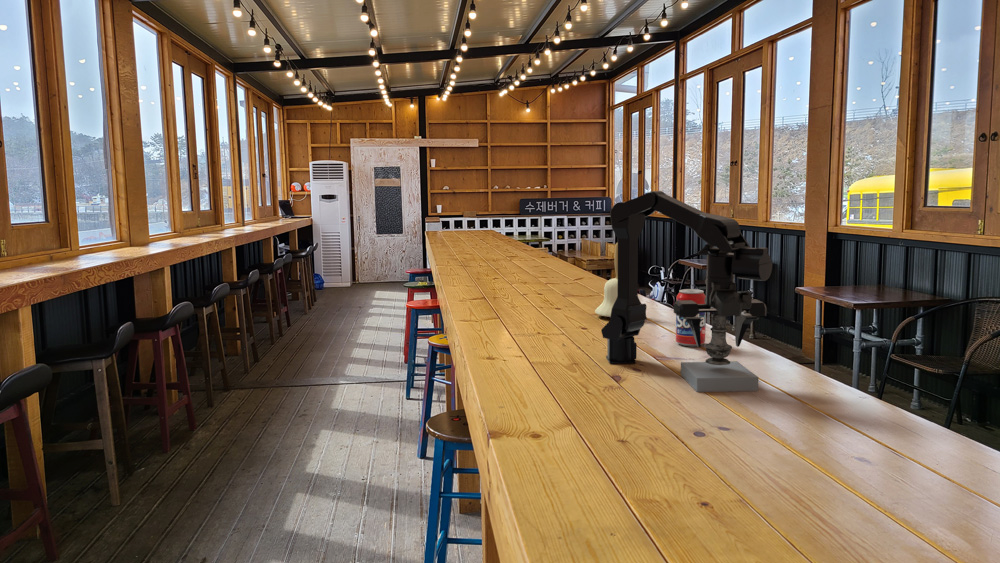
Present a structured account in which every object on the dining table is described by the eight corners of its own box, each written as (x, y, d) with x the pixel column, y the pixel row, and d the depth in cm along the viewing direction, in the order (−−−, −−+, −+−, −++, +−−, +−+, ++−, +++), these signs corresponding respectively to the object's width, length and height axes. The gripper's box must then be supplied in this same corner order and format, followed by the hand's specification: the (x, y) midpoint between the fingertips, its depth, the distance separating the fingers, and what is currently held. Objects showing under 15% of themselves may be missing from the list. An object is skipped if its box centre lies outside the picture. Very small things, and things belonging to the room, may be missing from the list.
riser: (696, 391, 142) (697, 378, 142) (680, 374, 155) (680, 362, 155) (758, 390, 142) (758, 377, 142) (736, 373, 155) (737, 361, 155)
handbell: (648, 315, 226) (648, 241, 223) (631, 323, 214) (632, 245, 210) (605, 311, 235) (605, 240, 231) (587, 319, 222) (587, 243, 218)
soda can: (702, 341, 188) (703, 288, 186) (707, 347, 180) (709, 292, 178) (673, 341, 189) (674, 288, 187) (678, 347, 181) (679, 292, 179)
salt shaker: (736, 365, 146) (738, 310, 144) (709, 365, 145) (711, 311, 143) (725, 358, 151) (727, 305, 150) (700, 358, 151) (701, 306, 149)
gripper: (687, 282, 138) (685, 356, 140) (778, 281, 137) (775, 355, 140) (673, 275, 149) (672, 343, 151) (758, 273, 148) (755, 342, 151)
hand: (718, 346), depth 148 cm, fingers closed on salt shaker, 8 cm apart
